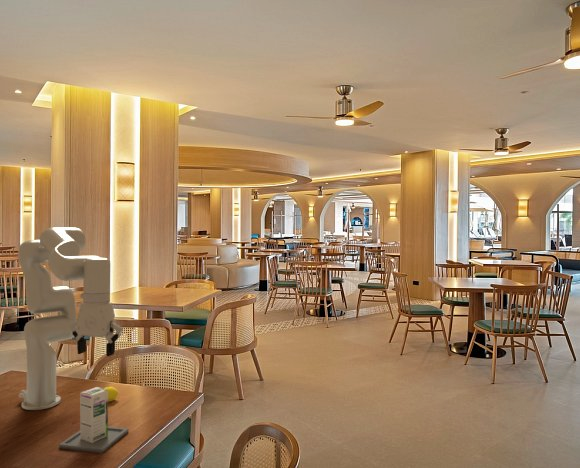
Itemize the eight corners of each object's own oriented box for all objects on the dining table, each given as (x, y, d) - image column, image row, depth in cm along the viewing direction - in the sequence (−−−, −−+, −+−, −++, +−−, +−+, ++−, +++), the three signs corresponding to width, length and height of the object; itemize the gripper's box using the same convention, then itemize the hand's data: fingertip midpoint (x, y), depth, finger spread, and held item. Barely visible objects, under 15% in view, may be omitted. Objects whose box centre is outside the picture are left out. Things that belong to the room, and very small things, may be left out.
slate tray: (59, 448, 133) (59, 444, 133) (88, 427, 147) (88, 424, 146) (102, 453, 130) (102, 449, 130) (128, 432, 144) (128, 428, 144)
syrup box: (92, 443, 135) (92, 395, 134) (79, 439, 137) (79, 391, 137) (108, 436, 140) (108, 389, 139) (95, 431, 142) (96, 386, 142)
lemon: (115, 398, 173) (117, 384, 174) (119, 403, 169) (121, 388, 170) (96, 400, 169) (98, 385, 170) (99, 404, 165) (102, 389, 165)
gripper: (63, 298, 136) (62, 355, 136) (115, 301, 133) (114, 359, 133) (79, 295, 144) (78, 348, 144) (129, 297, 140) (128, 352, 140)
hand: (96, 354), depth 138 cm, fingers open, 9 cm apart
